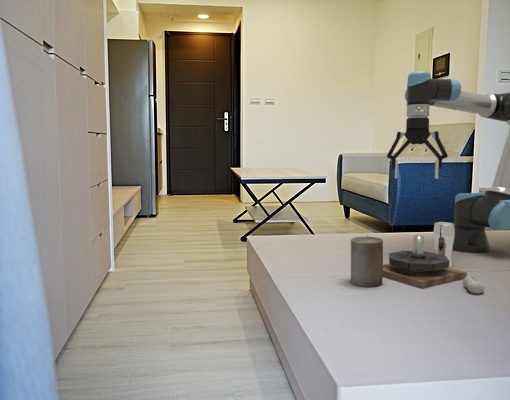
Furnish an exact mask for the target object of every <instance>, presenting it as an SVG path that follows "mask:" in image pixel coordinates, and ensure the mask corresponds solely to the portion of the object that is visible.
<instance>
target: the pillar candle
mask: <svg viewBox="0 0 510 400" xmlns="http://www.w3.org/2000/svg"><path fill="white" fill-rule="evenodd" d="M383 257H384V240H383V239H382V238H381V237H375V236H369V235H368V234H367V235H366V236H357V237H352V238H350V283H351V285H352V284H353V285H355V286H358V287H364V288H372V287H373V288H375V287H379V286H382V285H383V276H382V275H383V265H384V263H383V262H384V258H383Z"/></svg>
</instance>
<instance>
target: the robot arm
mask: <svg viewBox="0 0 510 400" xmlns="http://www.w3.org/2000/svg"><path fill="white" fill-rule="evenodd" d="M431 75H432V74H431V72H430V71H425V70H422V71H421V70H420V71H413V72H410V73H408V75H407V81H406V82H407V84H406V90H405V92H404V99H405V101H406V117H407V119H406V126H405V127H406V129H405V131H404V132H401V131H397V132H396V136H395V137H396V138H395V140H394V141H393V143H392V145H391V147H390V149H389V150H388V153H387V154H386V158H388V159H390V160H391V169H393V170H394V179H398V173H399V172H398V166H399V163H398V161H399V160H398V159H397V158H398V157H399V156H400V155H401V153H402V152H403V151H404V150H405V149H406V148H407V147H408V146H409V145H410V144H411V145H425V146H426V147H427V148H428V149H429V150H430V151H431V153H432V154H433V155H434V156H435V157H436V158H437V159H435V160H434V162H435V163H434V166H435V167H434V179H439V170H440V169H442V167H443V160H444V159H447V158H448V157H449V155H448V153H447V151H446V149H445V147H444V144H443V143H442V141H441V139H440V134H439V131H438V130H435V131H431V132H430V119H429V116H430V106H431V107H436V108H443V109H447V110H454V111H460V112H466V113H470V114H477V115H479V116H480V117H481V118H485V119H490V120H493V121H499V122H505V123H507V124H508V126H509V127H510V92H504V93H485V94H481V93H475V92H470V91H465V90H462V85H461V83H460V81H459V80H457V79H452V78H432V76H431ZM430 136H431V137H432V138H433V139H434V141H435V143H436V145H437V147H438V149H439V151H440V153H441V154H440V153H439V152H438V151H437V149H436V148H435V147H434V146H433V145H432V143H431V142H430V141H429V140H428V139H429V137H430ZM403 137H405V138H406V141H405V142H404V143H403V144H402V146H401V147H400V148H399V149H398V150H397V151H396V152H395V153H394V154H393V152H394V151H395V149H396V147H397V146H398V144H399V141H400V139H403ZM392 154H393V155H392ZM497 165H498V166H497V168H496V172H495V176H494V179H493V181H492V184H491V187H490V188H487V189H486V190H485V192H466V193H465V192H464V193H457V194H456V195H455V200H454V209H453V211H454V217H453V218H454V219H453V223H454V224H455V225H454V226H455V240H454V245H453V249H452V251H453V250H454V251H459V252H462V253H463V252H466V253H486V252H489V250H490V243H489V239H488V235H487V232H486V228H489V229H493V230H497V231H499V230H500V231H510V128H509V129H508V132H507V136H506V140H505V143H504V146H503V149H502V153H501V156H500V159H499V163H498V164H497Z"/></svg>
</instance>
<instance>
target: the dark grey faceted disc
mask: <svg viewBox="0 0 510 400" xmlns="http://www.w3.org/2000/svg"><path fill="white" fill-rule="evenodd" d="M388 261H389V263H388V264H390V265H394V266H398V267H401V268H405V269H411V270H430V271H433V270H434V271H435V270H439V269H444V268H450V267H449V260H448V258H447V257H446V256H445V255H440V254H436V253H435V252H430V251H426V250H424V254H423V259H415V258H413V250H399V251H395V252H390V253H388Z"/></svg>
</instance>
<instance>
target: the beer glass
mask: <svg viewBox="0 0 510 400" xmlns="http://www.w3.org/2000/svg"><path fill="white" fill-rule="evenodd" d="M454 225H455V224H454V222H445V221H438V222H434V226H433V247H434V253H436V254H440V255H445V256H446V257H447V258H448V260H449V268H452V267H453V261H452V253H453V245H454V240H455V226H454Z"/></svg>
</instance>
